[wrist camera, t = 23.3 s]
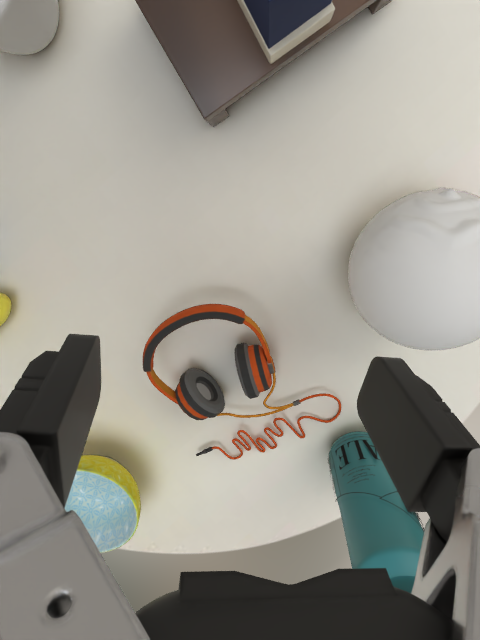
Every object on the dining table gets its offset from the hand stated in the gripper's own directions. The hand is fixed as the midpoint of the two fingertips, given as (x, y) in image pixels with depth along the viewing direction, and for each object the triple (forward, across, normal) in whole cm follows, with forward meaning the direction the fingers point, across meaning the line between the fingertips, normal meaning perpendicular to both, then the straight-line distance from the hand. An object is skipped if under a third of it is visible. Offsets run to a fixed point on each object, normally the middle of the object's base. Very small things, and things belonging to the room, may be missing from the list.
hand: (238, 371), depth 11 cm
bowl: (+24, +9, +33) cm, 42 cm away
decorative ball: (+23, -18, +3) cm, 29 cm away
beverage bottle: (+20, -18, +24) cm, 36 cm away
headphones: (+23, -5, +18) cm, 30 cm away
